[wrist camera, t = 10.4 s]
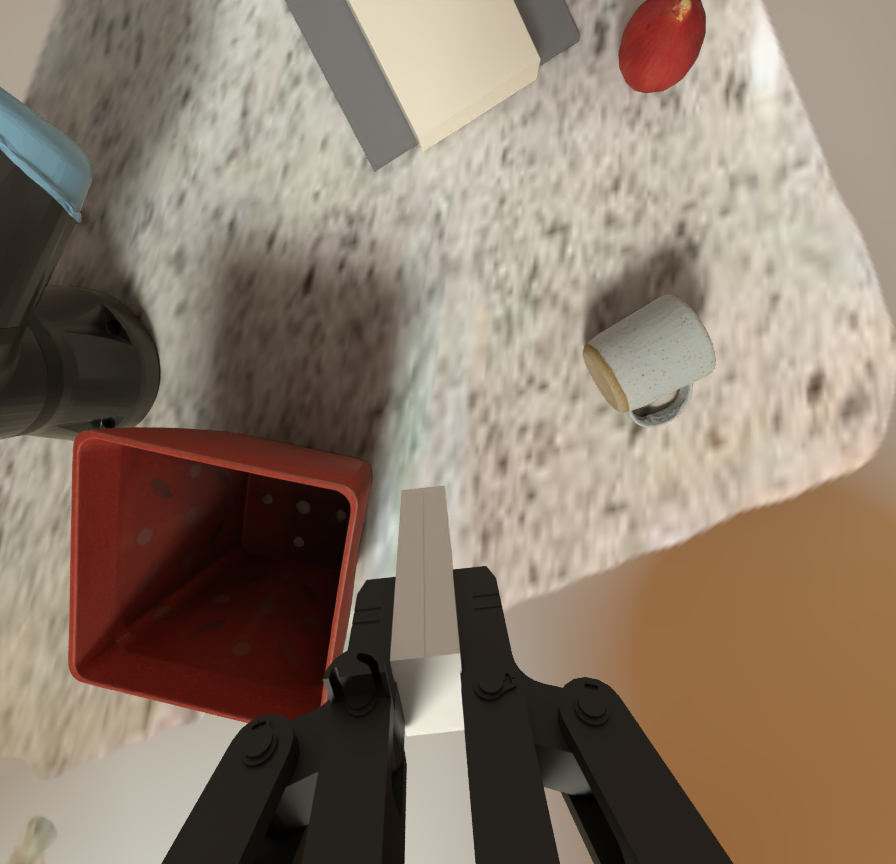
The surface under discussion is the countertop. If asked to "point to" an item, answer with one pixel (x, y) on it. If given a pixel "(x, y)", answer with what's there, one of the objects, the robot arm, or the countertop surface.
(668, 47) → the onion
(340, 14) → the mat
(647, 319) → the ceramic mug
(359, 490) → the plant pot
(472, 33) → the tile
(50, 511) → the countertop surface
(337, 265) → the countertop surface
